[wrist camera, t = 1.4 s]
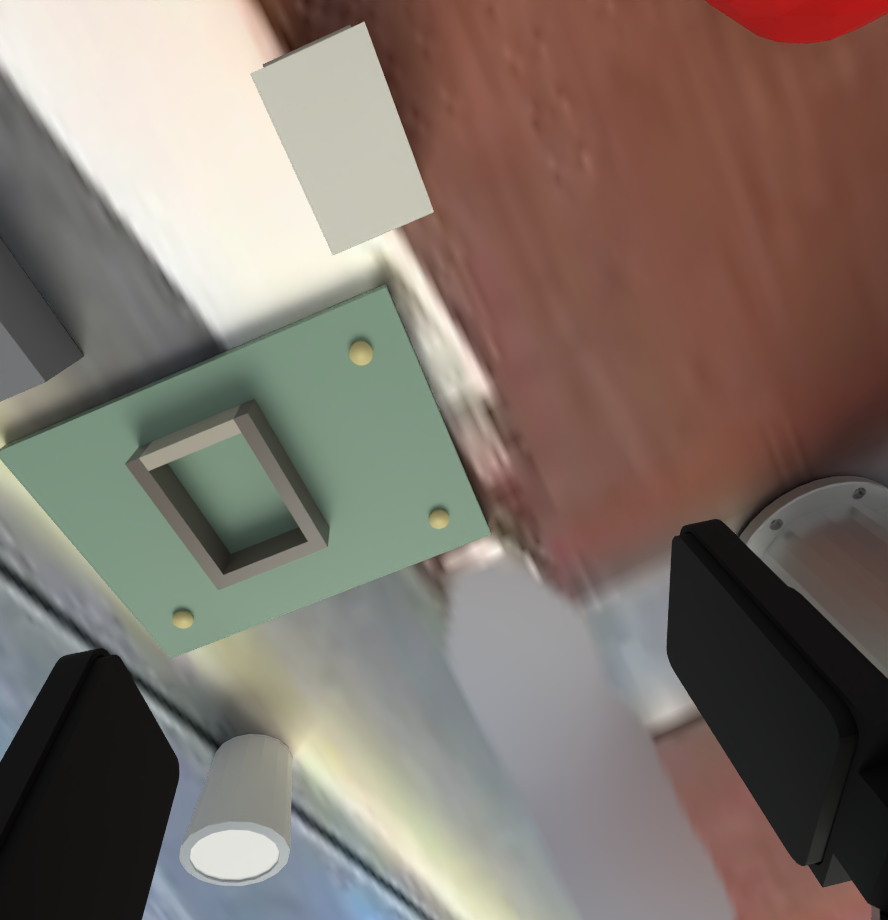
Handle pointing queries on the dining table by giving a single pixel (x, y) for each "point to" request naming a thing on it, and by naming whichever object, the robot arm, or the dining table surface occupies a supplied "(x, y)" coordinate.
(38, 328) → the grey push button box
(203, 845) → the gray cup
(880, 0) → the tomato
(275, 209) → the dining table surface
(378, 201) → the plug
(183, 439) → the socket
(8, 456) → the board
